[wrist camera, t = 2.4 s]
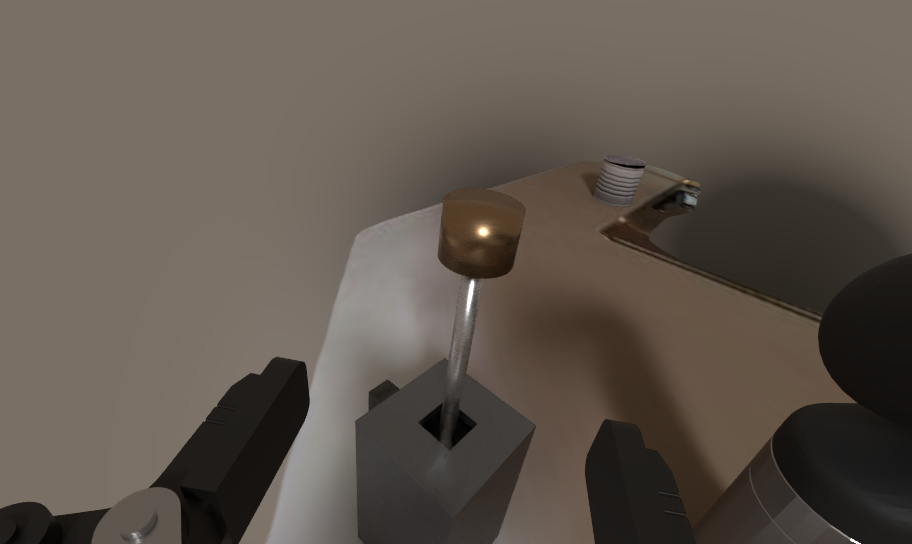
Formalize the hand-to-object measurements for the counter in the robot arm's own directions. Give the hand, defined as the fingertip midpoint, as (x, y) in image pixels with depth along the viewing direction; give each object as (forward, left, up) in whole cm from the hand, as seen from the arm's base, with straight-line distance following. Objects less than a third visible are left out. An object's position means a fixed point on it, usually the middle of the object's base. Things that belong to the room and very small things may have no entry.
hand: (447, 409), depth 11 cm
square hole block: (+8, -9, -31) cm, 33 cm away
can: (+32, -111, -31) cm, 120 cm away
